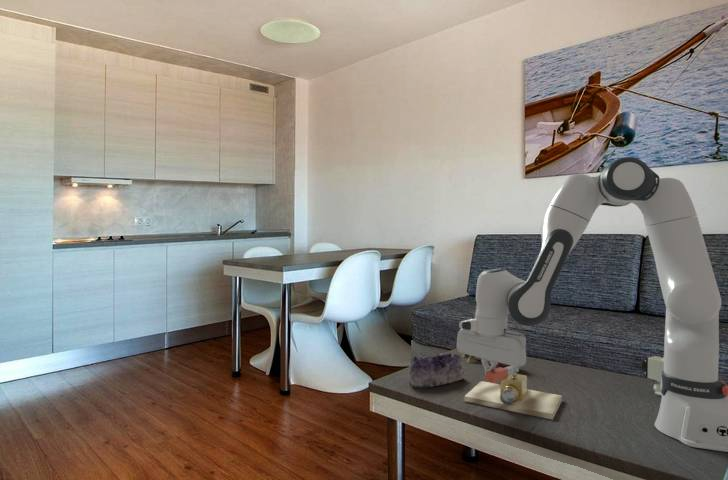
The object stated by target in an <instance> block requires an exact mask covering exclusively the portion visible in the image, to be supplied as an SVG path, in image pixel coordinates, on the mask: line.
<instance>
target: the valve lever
mask: <svg viewBox="0 0 728 480" xmlns="http://www.w3.org/2000/svg"><path fill="white" fill-rule="evenodd" d="M519 369H520V367H519V368H518V367H515V366H508V367H505V368H502V367H500V368H499V367H497V368H496V367H495V369H493V370H490V371H487V372H486V375H485V382H489V383H495V384H497V383H500V381H502V380H504V379H507V378H508V376H513V377H516V376H517V374H518V373H519V372H520V371H519Z"/></svg>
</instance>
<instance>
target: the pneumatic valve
mask: <svg viewBox="0 0 728 480" xmlns="http://www.w3.org/2000/svg"><path fill="white" fill-rule="evenodd" d="M640 365H641V366H640V368H641V372H643V373H644V375H645V376H644V377H645V378H647V379H650V380H655V381H657V383H654V384H653V391H654V394H655V395H656V396H659V397H662V393H661V374H662V371H663V370H664V355H663V357H661V356H657V355H651V356H645V358H644V359H642V362H641V364H640Z"/></svg>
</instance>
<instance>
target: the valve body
mask: <svg viewBox="0 0 728 480" xmlns="http://www.w3.org/2000/svg"><path fill="white" fill-rule="evenodd" d="M499 383H500V399H501V401H502V402H503V403H504V404H506V405H510V404H511V403H512V402H516V400H517V401H522V400H523V399H524V397H525V396H526V395H527V387H528V386H527V385H528V375H524V374H519V373H517V376H516V377H513V376H508V378H507V379H504V380H502V381H499Z"/></svg>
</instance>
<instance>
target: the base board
mask: <svg viewBox="0 0 728 480" xmlns="http://www.w3.org/2000/svg"><path fill="white" fill-rule="evenodd" d="M463 399H464V400H463V401H464V402H466V403H471V404H476V405H481V406H485V407H488V408H489V407H490V408H495V409H500V410H505V411H509V412H514V413H519V414H524V415H529V416H534V417H538V418H543V419H549V420H552V421H553V420H554V418H555V416H556V414H557V411H558V410H559V408H560V406H561V404H562V401H563V395H560V394H554V393H551V392H545V391H544V392H543V391H540V390H539V391H538V390H533V389H527V395H526V396H525V397H524V399H523V400H522V401H517V400H516V402H512V403H511V404H510V405H506V404H504V403H503V402H502V401H501V399H500V384H499V383H490V382H487V381H483V380H480V381H479V382H478V383H477V384H476V385H475V386H474V387H473V388H471V390H470V391H469V392H468V393H466V394H465V395H464V398H463Z"/></svg>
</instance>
